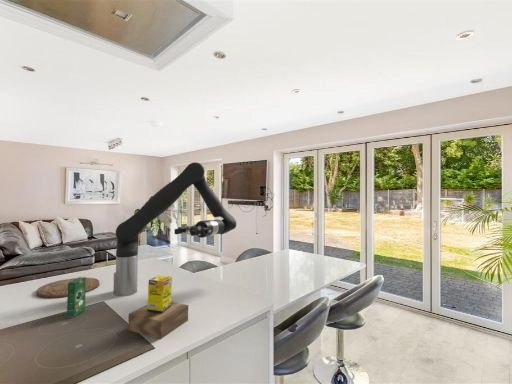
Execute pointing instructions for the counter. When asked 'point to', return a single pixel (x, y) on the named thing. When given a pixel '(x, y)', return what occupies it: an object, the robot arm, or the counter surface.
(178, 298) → the counter surface
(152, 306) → the supplement box
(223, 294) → the counter surface
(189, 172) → the robot arm
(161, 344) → the counter surface
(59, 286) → the trivet
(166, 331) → the walnut riser block
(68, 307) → the coffee box
